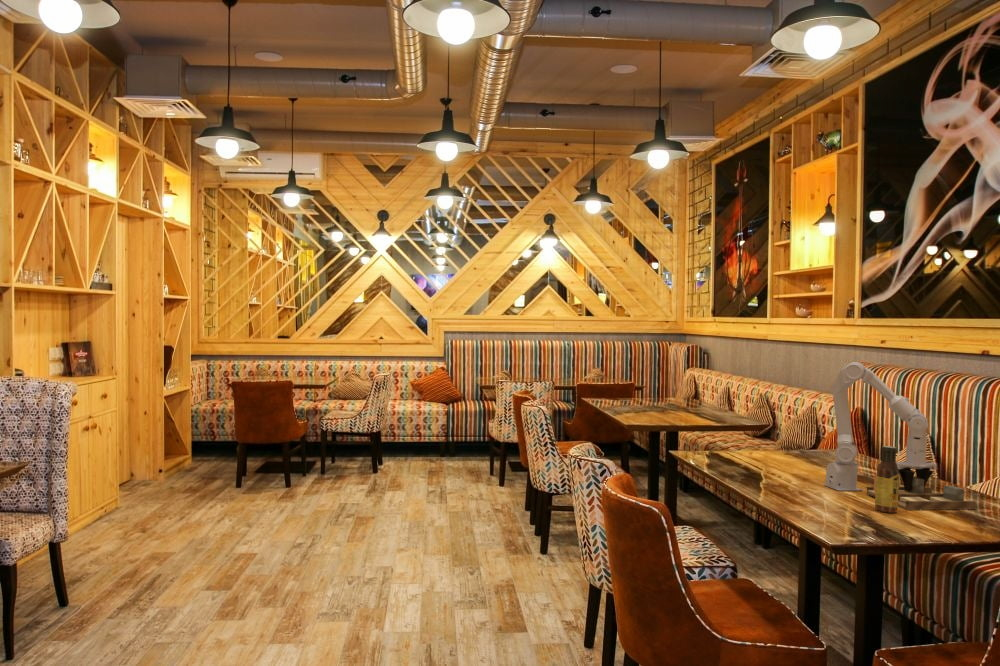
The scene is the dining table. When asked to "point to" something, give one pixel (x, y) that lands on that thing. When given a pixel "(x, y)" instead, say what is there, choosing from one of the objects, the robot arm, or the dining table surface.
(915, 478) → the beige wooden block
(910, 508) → the lane board
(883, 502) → the sauce bottle
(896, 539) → the dining table surface
